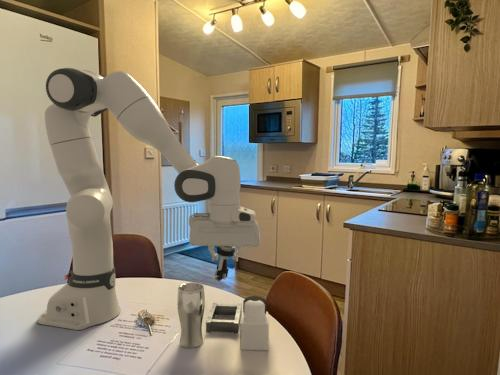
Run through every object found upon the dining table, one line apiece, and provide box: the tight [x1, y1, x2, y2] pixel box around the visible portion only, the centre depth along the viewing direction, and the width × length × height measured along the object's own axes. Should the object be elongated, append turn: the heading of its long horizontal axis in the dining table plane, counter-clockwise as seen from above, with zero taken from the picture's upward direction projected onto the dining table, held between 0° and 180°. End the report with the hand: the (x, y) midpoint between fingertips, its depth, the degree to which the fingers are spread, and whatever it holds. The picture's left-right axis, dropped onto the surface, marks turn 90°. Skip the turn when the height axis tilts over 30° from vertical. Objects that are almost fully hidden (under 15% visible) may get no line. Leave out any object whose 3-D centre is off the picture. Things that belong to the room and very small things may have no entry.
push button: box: [213, 246, 236, 282], centre depth 98 cm, size 7×5×10 cm
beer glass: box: [176, 282, 206, 350], centre depth 88 cm, size 7×7×15 cm
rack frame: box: [205, 302, 243, 335], centre depth 99 cm, size 9×12×3 cm
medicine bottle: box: [239, 295, 270, 352], centre depth 88 cm, size 7×7×12 cm
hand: (225, 260), depth 97 cm, fingers closed on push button, 4 cm apart
